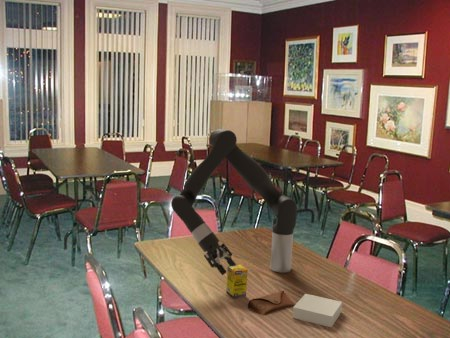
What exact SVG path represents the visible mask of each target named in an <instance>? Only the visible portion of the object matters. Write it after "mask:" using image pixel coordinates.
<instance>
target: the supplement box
mask: <svg viewBox="0 0 450 338" xmlns="http://www.w3.org/2000/svg"><path fill="white" fill-rule="evenodd" d="M248 272H249V271H248V268H246V267H244V266H243V265H242V264H238V265H237V264H236V266H230V265H229V266H228V265H227V270H226V290H225V291H226V294H228V295H229V296H230V297H232V298H233V299H235V298H240V297H246V296H247V286H248V285H247V284H248Z"/></svg>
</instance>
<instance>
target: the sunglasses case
mask: <svg viewBox="0 0 450 338" xmlns="http://www.w3.org/2000/svg"><path fill="white" fill-rule="evenodd" d="M296 304H297V303H294V301H293V300H292V299H291V298H290V297H289V296H288V295H287V294H286V292H285V290H282V291H280V292H275V293H271V294H268V295H263V296H261V297H256V298H252V299H250V300H249V301H248V302H247V308H248V309H249V310H251V311H253V312H255V313H257V314H259V315H261V316H265V315H268V314H270V313H273V312H277V311H280V310H283V309H288V308H290V307H294V306H295V305H296Z"/></svg>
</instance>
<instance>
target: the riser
mask: <svg viewBox="0 0 450 338" xmlns="http://www.w3.org/2000/svg"><path fill="white" fill-rule="evenodd" d="M295 304H296V305H295V306H292V307H293V308H292V319H296V320H300V321H303V322H304V321H305V322H308V323H312V324H316V325H321V326H325V327H327V328H328V327H329V328H332V327H333V326H334V324H335V322H336V321H337V320H338V318H339V317H340V315H341V314H342V312H343V311H342V309H343V301H340V300H334V299H331V298H326V297H321V296H318V295H312V294H309V293H308V294H307V293H305V294H304V295H303V296H302V297H301V298H300V299H299V300H298V302H296V303H295ZM340 313H341V314H340Z"/></svg>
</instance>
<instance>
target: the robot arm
mask: <svg viewBox="0 0 450 338" xmlns="http://www.w3.org/2000/svg"><path fill="white" fill-rule="evenodd" d="M237 140H238V139H237V136H236V134H235V132H233V131H232V130H230V129H227V128H226V129H225V128H217V129H215V130H213V131H211V133H210V135H209V143H210V145H211V147H212V148H211V150H210V152H209V154H208V155H207V156H206V157H204V159H203V160H202V162H201V163H199V164H198V165H197V166H196V167H195V168H194V170H193V171H191V173H190V175H189V177H188V178H187V179H186V181H185V183H184V185H183V188H182V190H181V193H180V194H178V195H176V196H174V197H173V198H172V200H171V201H170V202H171V203H170V204H171V208H172V210H173V211H174V213H175V214H176V216H178V217H179V218H180V220H181V221H182V222H183V224H184V225H185V226H186V228H187V229H188V231H189V232H190V233H191V236H192V237H193V239H194V240H195V242H196V243H197V244H198V245H199V247H200V249H201V250H202V251H203V252H205V253H204V255H203V257H204V259H206V261H207V262H208V264H209V265H210V268H213V269H214V268H216V269H217V271H218V272H219V273H220V274H221V275H222V276H223V275H225V274H227V270H226V268H224V266H223V265H222V264H221V260H222V259H223V260H225V261H226V263H227V264H228V265H229V266H236V265H237V264H236V262H235V261H234V260H233V259H232V256H233V253H232V251H231V250H230V249H229V248H228V247H227V245H226V244H225V243H224V242H223V243H221V244H220V243H219V242H220V239H219V238H218V237H217V235H216V234H215V232H214V231H213V230H212V229H211V227H210V226H209V225H208V224H207V223H206V222H205V221H204V219H203V217H201V215H200V214H199V213H198V212H197V211H196V210H195V208H194V207H193V205H194V203H195V201H196V200H197V197H198V195H199V193H201V191H202V189H203V188H204V186H205V185H206V183H207V181H209V180H210V178H211V176H212V174H214V172H215V171H216V169H217V168H218V167H219V165H220V164H222V162H223V161H224V159H225V160H226V161H228V163H230V166H231V167H232V168H234V171H236V173H238V174H239V176H240V177H241V178H242V179H243V180H244V182H246V184H247V185H248V186H250V188H252V190H253V191H254V192H256V193H257V194H258V195H259V196H260V197H261V198H262V199H263V200H264V201H265V202H266V204H267V206H268V207H269V209H271V211H272V213H274V214H275V215H276V217H277V219H276V223H275V224H273V226H272V231H271V232H272V235H271V236H272V237H271V251H270V252H271V253H270V264H269V265H270V266H269V268H270V270H271V271H273V272H276V273H281V274H282V273H289V272H291V270H292V258H293V241H294V240H293V239H294V231H295V228H296V225H297V224H296V223H297V215H298V205H297V202H296V201H295V200H294V199H293V198H291V197H288V196H286V195H284V194H283V193H282V192H281V191H280V190H279V189H278V188H276V186H274V184H273V182H272V180H271V178H270V176H269V174H268V173H267V171H266V170H265V169H264V168H263V167H262V166H261V165H260V164H259V162H257V161H256V160H255V159H254V158H252V157H251V156H250V155H249V154H247V153H246V152H244V151H243V150H242V149H241V148H240V147H239V146H238V145H237Z"/></svg>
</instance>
